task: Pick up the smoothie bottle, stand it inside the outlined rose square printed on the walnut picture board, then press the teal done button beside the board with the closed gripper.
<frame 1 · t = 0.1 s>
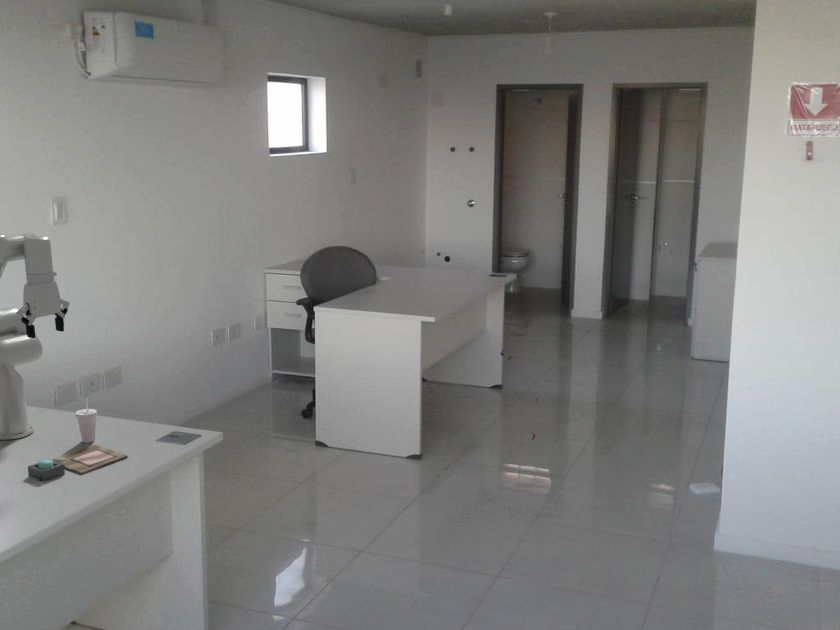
hand: (45, 334, 280), 37 cm above the table, tool pointing down, fingers open, 9 cm apart
picture board: (88, 460, 280), on the table
button housing: (46, 475, 268), on the table
smoothie: (88, 441, 295), on the table
done button: (45, 466, 268), point 2 cm above the table, slide at 0.0 cm
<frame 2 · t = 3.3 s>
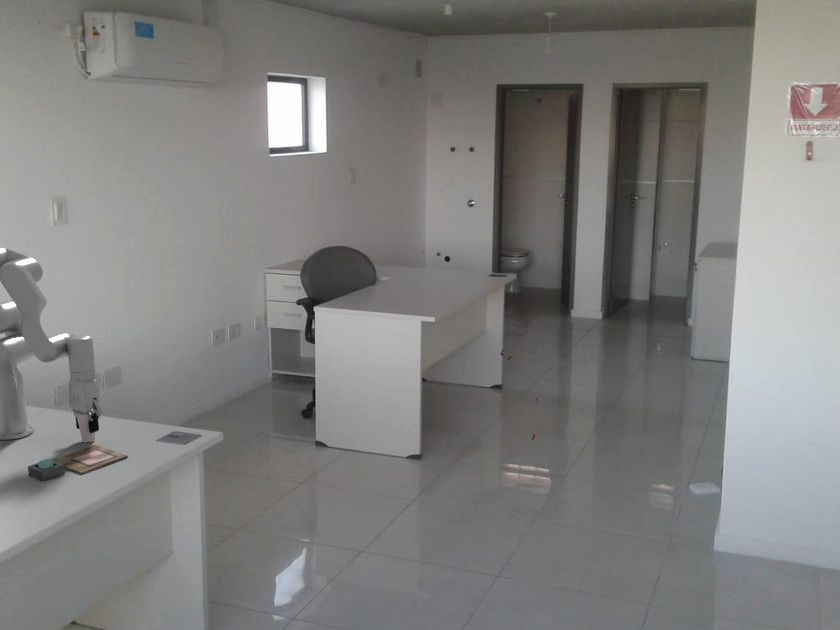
hand: (87, 429, 294), 4 cm above the table, tool pointing down, fingers closed on smoothie, 5 cm apart
smoothie: (88, 441, 295), on the table, touching gripper
everything else where it was.
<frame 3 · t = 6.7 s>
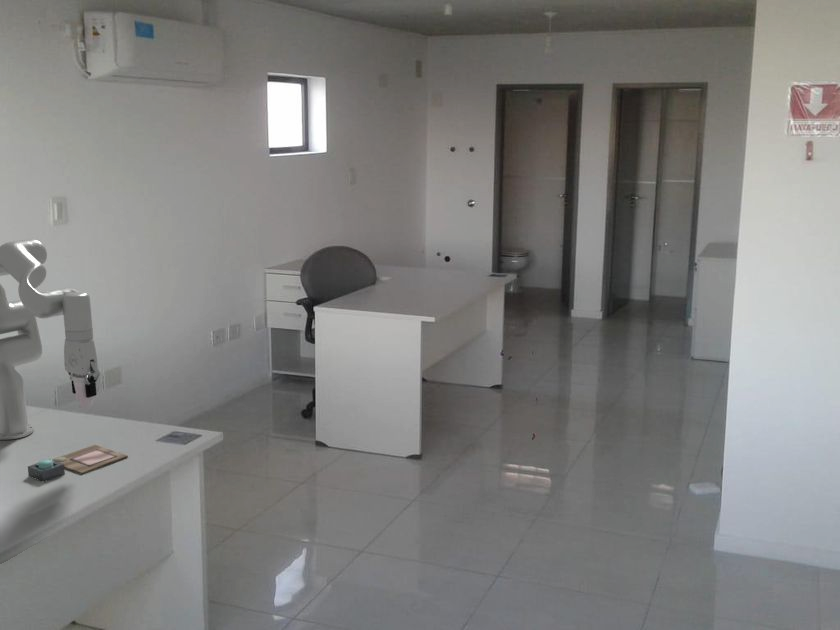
hand: (84, 393, 274), 21 cm above the table, tool pointing down, fingers closed on smoothie, 5 cm apart
smoothie: (85, 406, 275), point 17 cm above the table, touching gripper
everything else where it was.
when the fingers open (5 cm above the table, at t = 10.0 s): smoothie stays where it is, resting on picture board.
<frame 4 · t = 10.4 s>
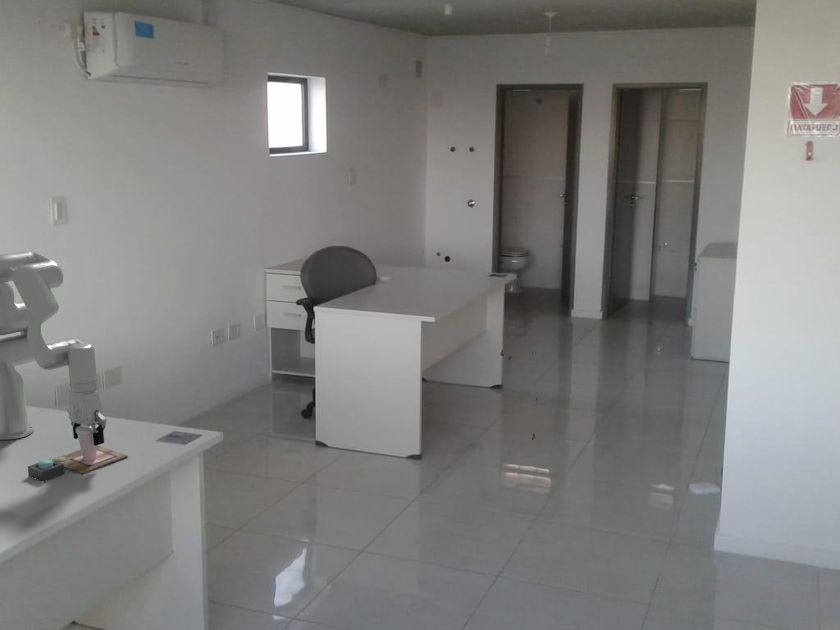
hand: (88, 440, 278), 6 cm above the table, tool pointing down, fingers open, 9 cm apart
smoothie: (89, 458, 279), point 1 cm above the table, touching picture board
everything else where it was.
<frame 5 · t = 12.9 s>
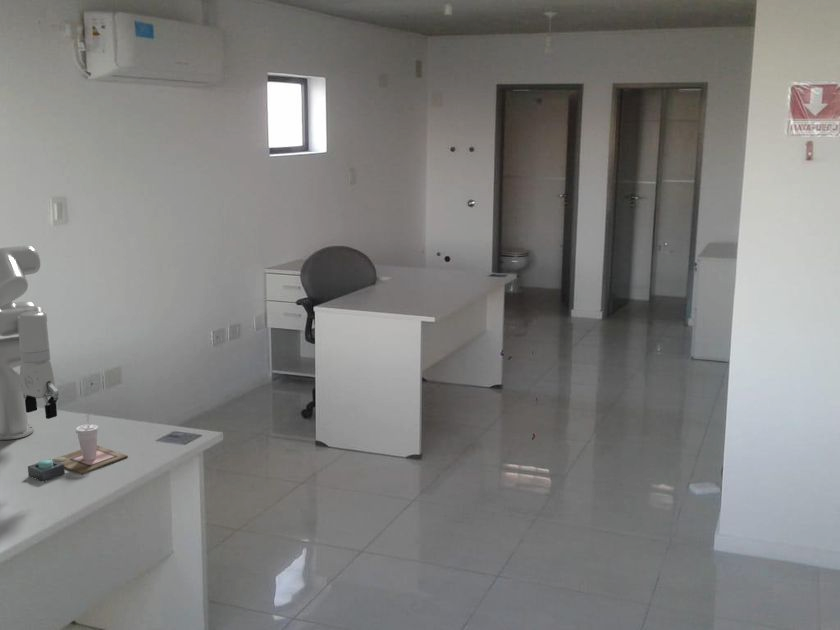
hand: (41, 414, 264), 18 cm above the table, tool pointing down, fingers open, 9 cm apart
nothing on the table moved.
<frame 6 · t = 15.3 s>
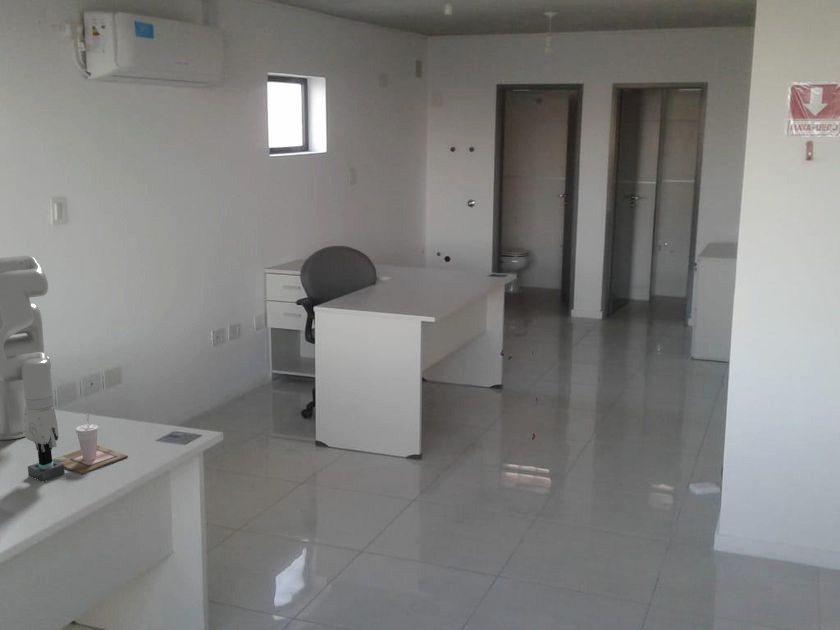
hand: (45, 463, 267), 4 cm above the table, tool pointing down, fingers closed
done button: (46, 468, 268), point 2 cm above the table, slide at 0.3 cm, touching gripper
everything else where it was.
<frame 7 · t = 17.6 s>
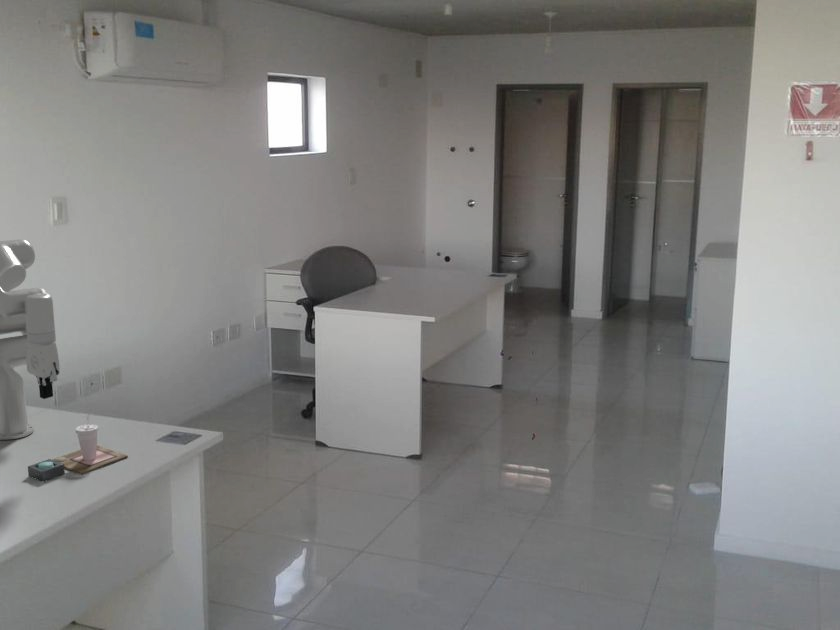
hand: (46, 397, 272), 21 cm above the table, tool pointing down, fingers closed
done button: (46, 469, 268), point 2 cm above the table, slide at 0.7 cm
everything else where it was.
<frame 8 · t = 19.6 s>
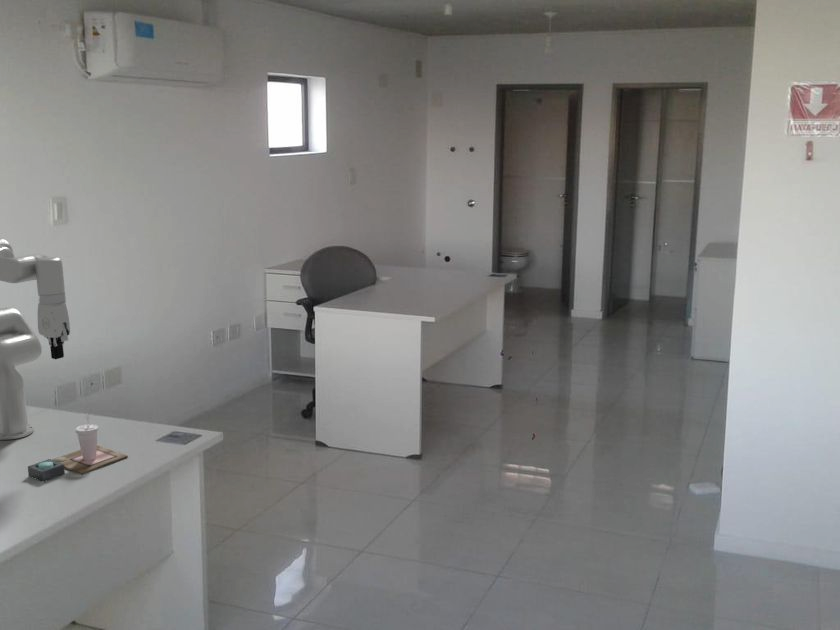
hand: (57, 357, 282), 29 cm above the table, tool pointing down, fingers closed
nothing on the table moved.
at the end: smoothie 1.1 cm from the target spot on the picture board, point 0.5 cm above the picture board's base; smoothie tilted 0°; done button slide at 0.7 cm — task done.
